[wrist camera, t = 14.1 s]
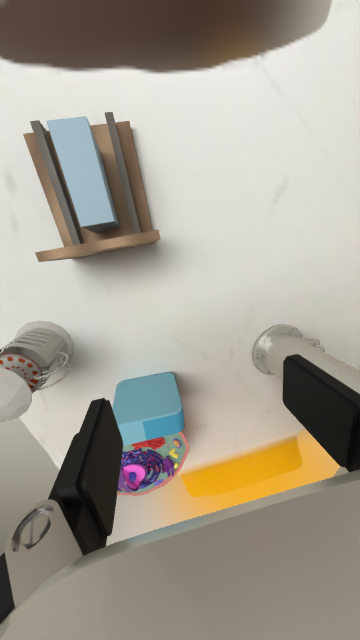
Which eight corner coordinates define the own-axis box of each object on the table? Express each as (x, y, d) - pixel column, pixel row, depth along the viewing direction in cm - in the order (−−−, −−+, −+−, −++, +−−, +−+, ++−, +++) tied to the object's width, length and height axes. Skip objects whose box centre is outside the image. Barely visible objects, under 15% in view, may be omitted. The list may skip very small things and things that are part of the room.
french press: (7, 322, 35) (-269, 469, 11) (78, 318, 37) (-30, 435, 13) (21, 371, 38) (-169, 564, 14) (87, 365, 40) (11, 525, 16)
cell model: (195, 426, 50) (209, 473, 40) (130, 469, 51) (127, 526, 40) (157, 383, 44) (162, 424, 34) (83, 432, 45) (65, 488, 34)
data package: (121, 398, 44) (114, 448, 32) (117, 381, 42) (108, 427, 31) (175, 387, 45) (186, 431, 34) (173, 370, 44) (184, 411, 33)
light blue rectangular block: (100, 151, 28) (86, 116, 21) (120, 228, 32) (114, 221, 24) (71, 155, 28) (46, 120, 20) (94, 232, 31) (80, 226, 24)
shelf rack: (129, 127, 29) (123, 55, 18) (154, 242, 35) (160, 238, 24) (29, 139, 28) (-42, 69, 17) (71, 258, 33) (38, 261, 23)
